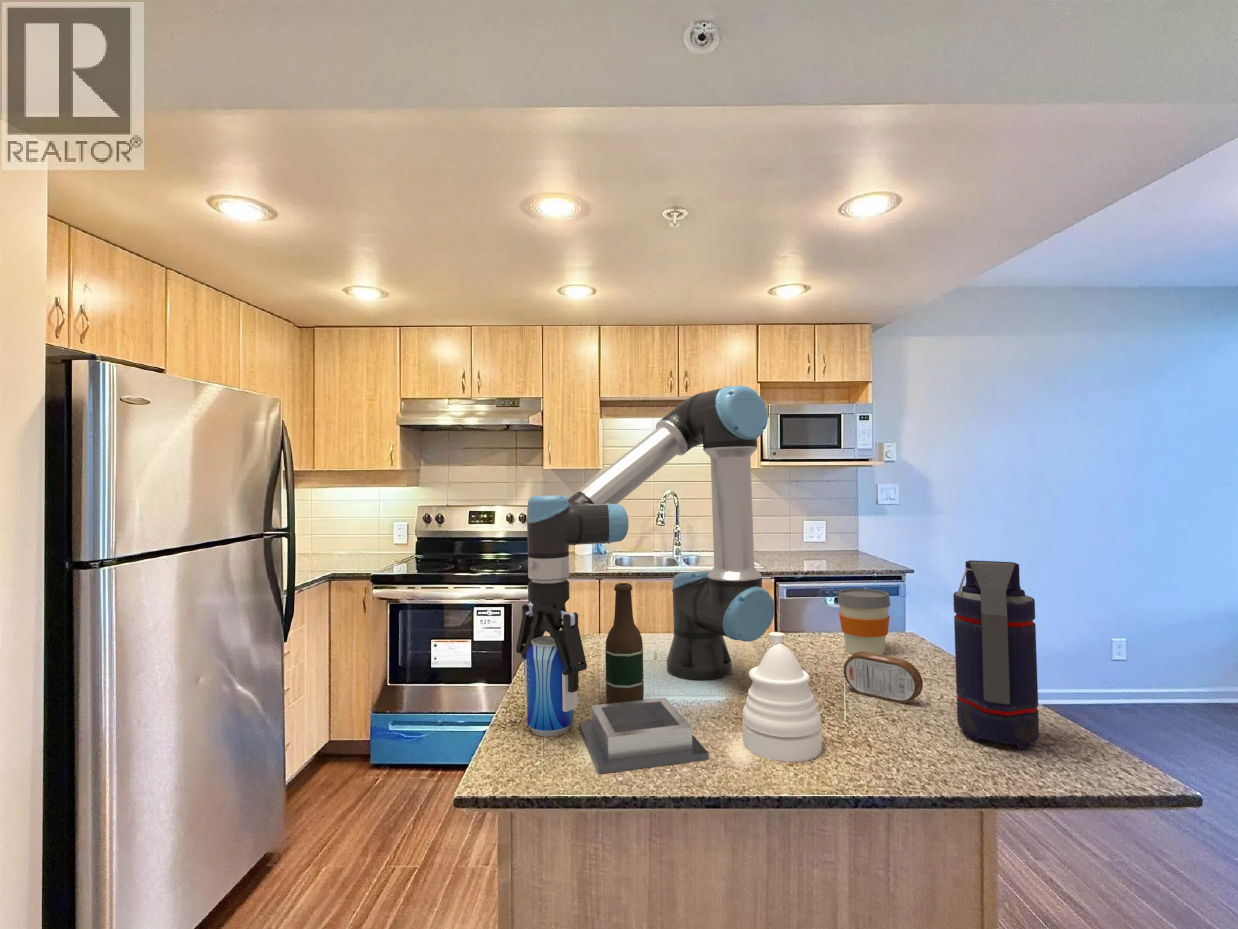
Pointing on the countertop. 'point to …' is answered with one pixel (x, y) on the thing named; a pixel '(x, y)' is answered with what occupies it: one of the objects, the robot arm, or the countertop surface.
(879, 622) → the reusable coffee cup
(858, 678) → the tin
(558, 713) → the beer can
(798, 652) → the countertop surface
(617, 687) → the beer bottle
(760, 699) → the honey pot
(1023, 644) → the grenade
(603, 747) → the silver square tray
